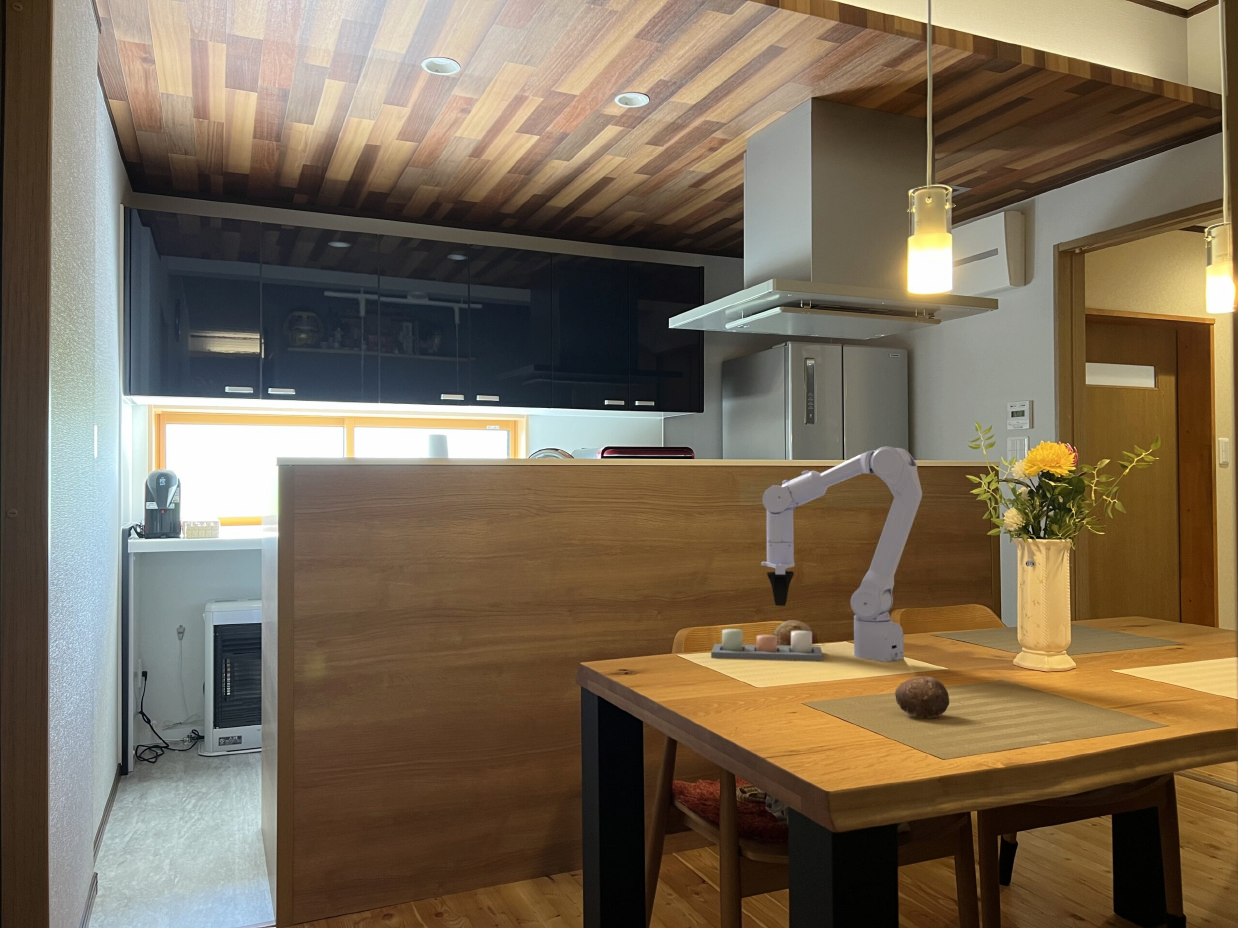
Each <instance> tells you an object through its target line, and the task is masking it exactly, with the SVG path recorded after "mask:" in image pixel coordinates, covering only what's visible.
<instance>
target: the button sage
mask: <svg viewBox="0 0 1238 928" xmlns="http://www.w3.org/2000/svg"><path fill="white" fill-rule="evenodd" d="M743 633H744V632H743V630H742V629H740V628H725V629H722V630H721V644H722V650H730V651H743V645H744V644H743V640H744V639H743V638H744V637H743V636H744V635H743Z"/></svg>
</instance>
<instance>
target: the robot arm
mask: <svg viewBox="0 0 1238 928" xmlns="http://www.w3.org/2000/svg"><path fill="white" fill-rule="evenodd" d="M863 474H870V475H876V476H877V477H878V478H880V479H881V480H882V481H883V482H884V483H885V484H886V485H887V487H888V489H889V490H890V493H891V494H892V496H893V500H892V503H891V505H890V508H889V512H888V513H887V516H886V520H885V522H884V526H883V529H882V531H881V535H880V537H879V541H878V543H877V546H876V549H875V552H874V555H873V557H872V560H871V562H870V566H869V569H868V571H867V572H866V574H865V575H864V577H863V578H862V581H861V583H860V585H859V587H858V588H857V589H856V590H855V591H854V592H853V593H852V595H851V596H850V597H851V598H850V608H851V611H852V612H853V652H854V653H853V656H854V657H856V658H860V659H863V660H864V659H865V660H874V661H879V662H884V663H886V662H892V661H899V660H905V653H904V652H905V651H904V647H905V645H904V644H905V642H904V641H905V640H904V639H905V637H904V630H903V627H902V626H901V625H900V624H899V623H897V622H893V621H892V620H891V618H892V617H891V615H890V613H889V611H890V610H891V608H892V606H893V602H894V597H893V590H894V589H893V588H894V586H895V578H894V577H895V574H896V571H897V569H898V566H899V563H900V560H901V557H902V555H903V551H904V549H905V545H906V543H907V540H908V537H909V534H910V533H911V530H912V529H911V528H912V526H913V523H914V520H915V517H916V515H917V511H918V509H919V506H920V503H921V501H922V497H923V491H922V486H921V482H920V477H919V473H918V463H917V462H916V461H915V459H914V458H913V456H912V455H911V453H909V451H908V450H907V449H905V448H902V447H893V446H887V445H886V446H881V447H879V448H877V449H876V450H874V449H873V450H868V451H866V452H863V453H861V454H858V455H857V456H855V457H854V456H853V457H852V458H850V459H847V460H846V461H844V462H841V463H840V464H838V465H836V466H833V467H831V468H829V469H826V470H825V471H822V472H818V471H816V470H811V471H810V470H807V469H806V470H804V471H801V475H800V476H797V477H795V478H793V479H790V480H788V479H784V480H782V482H781V483H782V484H781V485H777V484H775V485H774V484H773V485H771V486H769V487H767V489H766V490H765V491H764V493H763V495H762V504H763V505H762V506H764V508H765V509H766V561H762V562H760V566H762V567H763V566H765V567H769V568H771V569H772V568H773V569H774V570H775V571H767V572H766V577H768V580H769V583H770V584H771V585H770V586H771V589H772V594H773V601H774V605H775V606H778V607H780V606H782V607H784V606H785V607H786V606H787V605H786V604H787V600H788V594H789V589H790V585H791V581H792V580H793V577H794V571H793V570H787V569H789V568H794V567H795V565H796V564H795V561H794V560H795V559H794V558H795V557H794V555H795V554H794V553H795V550H794V548H795V547H794V546H795V545H794V539H795V537H794V510H795V509H796V507H800V506H802V505H804V504H807V503H809V502H812V501H813V500H816V499H818V498H821V497H824V496H825V494H826V492H827V490H828V488H829V487H831V486H833V485H836V484H839V483H842V482H843V481H846V480H849V479H852V478H854V477H857V476H859V475H863ZM854 614H855V615H854Z"/></svg>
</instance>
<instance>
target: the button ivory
mask: <svg viewBox="0 0 1238 928" xmlns="http://www.w3.org/2000/svg"><path fill="white" fill-rule="evenodd" d="M790 646H791V652H802V653H812V647H813V644H812V632H810V631H791V645H790Z"/></svg>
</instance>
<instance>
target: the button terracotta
mask: <svg viewBox="0 0 1238 928" xmlns="http://www.w3.org/2000/svg"><path fill="white" fill-rule="evenodd" d="M755 639H756V641H755V642H756V643H755V645H756V651H766V652H777V646H778V643H777V636H775V635H773V634H757V635H756V637H755Z"/></svg>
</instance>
